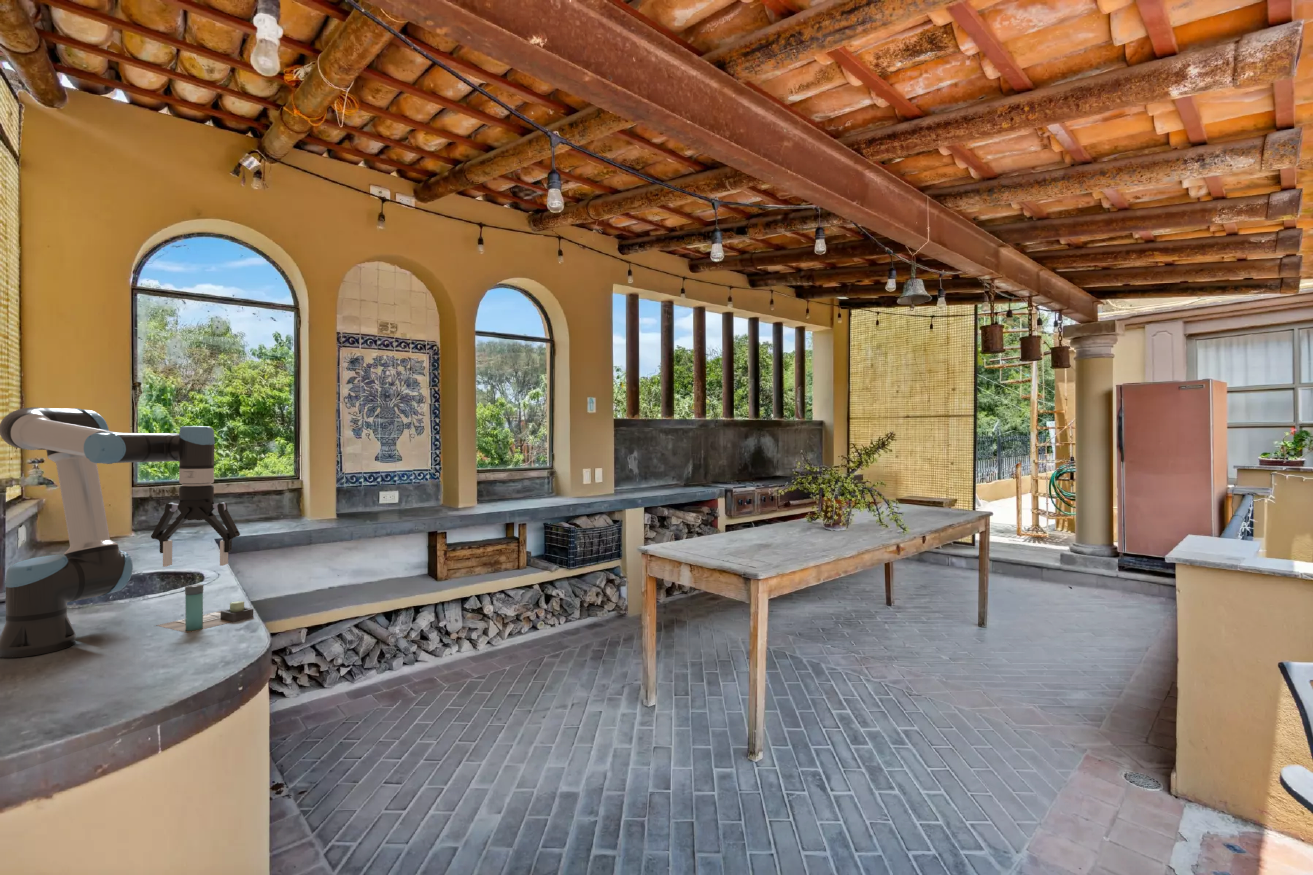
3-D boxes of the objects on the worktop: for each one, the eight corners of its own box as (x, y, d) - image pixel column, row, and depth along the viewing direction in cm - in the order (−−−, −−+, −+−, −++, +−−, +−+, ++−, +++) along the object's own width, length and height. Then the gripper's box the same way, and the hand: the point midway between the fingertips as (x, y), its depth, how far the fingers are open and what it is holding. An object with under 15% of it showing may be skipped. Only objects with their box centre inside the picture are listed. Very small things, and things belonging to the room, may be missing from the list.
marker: (181, 629, 182) (181, 586, 182) (198, 625, 186) (198, 583, 186) (190, 631, 180) (190, 588, 180) (206, 627, 184) (206, 585, 184)
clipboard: (156, 629, 186) (156, 616, 186) (222, 614, 202) (222, 602, 202) (187, 637, 179) (187, 624, 179) (253, 620, 195) (253, 608, 195)
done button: (227, 612, 193) (227, 603, 193) (239, 609, 196) (239, 600, 196) (234, 614, 191) (234, 604, 191) (246, 611, 194) (246, 601, 194)
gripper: (135, 485, 166) (134, 568, 166) (241, 485, 170) (240, 566, 170) (153, 483, 173) (152, 563, 173) (254, 483, 177) (253, 561, 177)
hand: (195, 565), depth 171 cm, fingers open, 13 cm apart
